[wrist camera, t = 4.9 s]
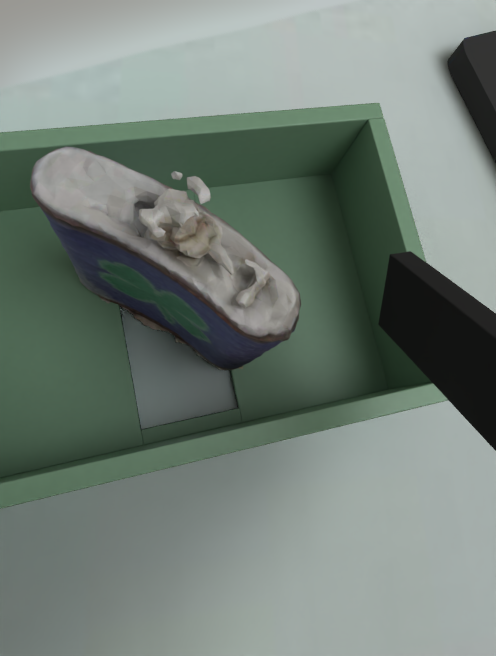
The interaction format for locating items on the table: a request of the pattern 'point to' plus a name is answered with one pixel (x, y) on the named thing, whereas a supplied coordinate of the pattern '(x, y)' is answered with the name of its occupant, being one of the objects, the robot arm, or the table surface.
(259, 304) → the flask
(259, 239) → the open box
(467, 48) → the smart home device
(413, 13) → the table surface
